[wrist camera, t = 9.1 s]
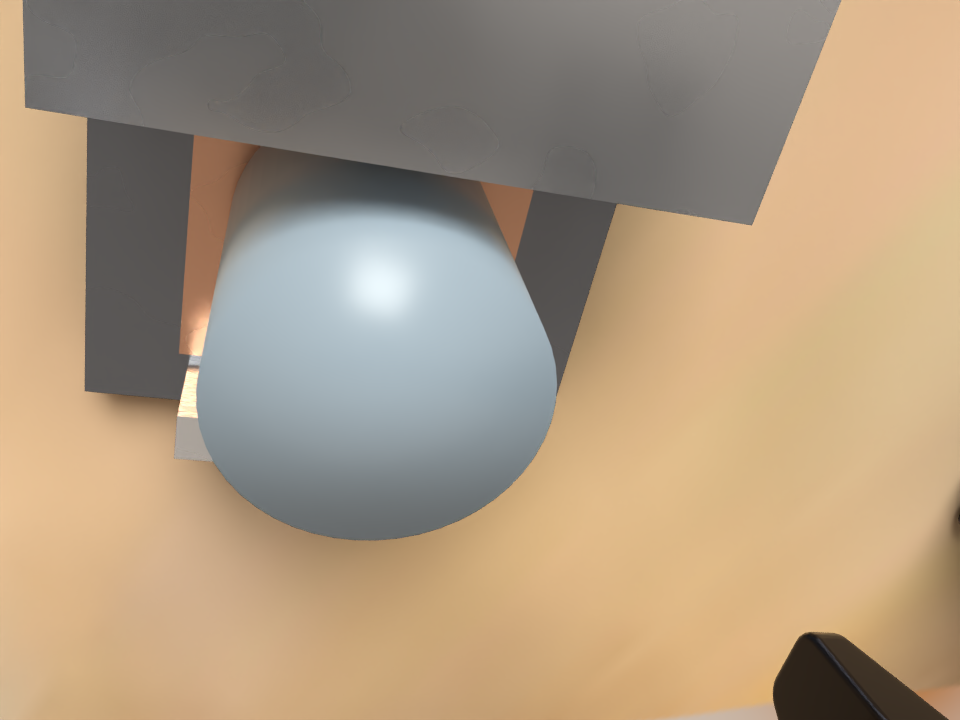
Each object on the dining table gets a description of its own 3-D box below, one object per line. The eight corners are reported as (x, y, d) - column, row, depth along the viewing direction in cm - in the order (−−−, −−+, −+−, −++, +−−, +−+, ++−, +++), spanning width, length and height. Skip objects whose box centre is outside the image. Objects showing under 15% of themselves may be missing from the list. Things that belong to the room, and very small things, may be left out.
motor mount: (718, -208, 16) (967, -210, 10) (533, 405, 22) (617, 633, 16) (109, -386, 13) (-57, -533, 7) (96, 360, 20) (1, 610, 14)
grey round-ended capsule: (459, 355, 20) (511, 549, 15) (219, 328, 18) (184, 530, 13) (514, 130, 17) (598, 269, 12) (242, 81, 16) (210, 214, 11)
